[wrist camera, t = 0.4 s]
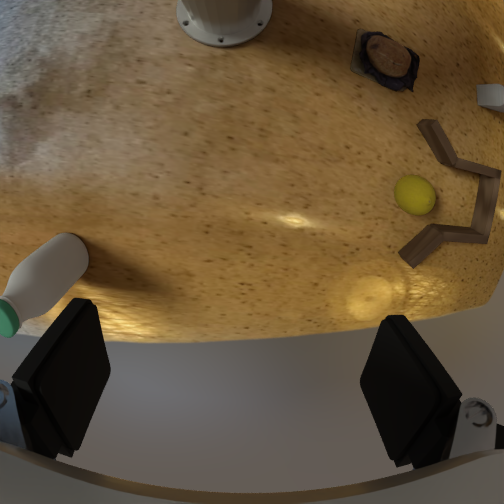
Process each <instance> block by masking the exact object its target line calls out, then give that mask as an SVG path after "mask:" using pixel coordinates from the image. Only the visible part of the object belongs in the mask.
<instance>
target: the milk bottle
mask: <svg viewBox="0 0 504 504" xmlns="http://www.w3.org/2000/svg"><path fill="white" fill-rule="evenodd" d="M88 262H89V255H88V251H87V249H86V246H85V245H84V243H83V242H82V241H81V240H80V239H79V238H78V237H77V236H75V235H73V234H71V233H60V234H58V235H57V236H55V237H53V238H52V239H51V240H49V241H48V242H46V243H45V244H44V245H42V246H41V247H40V248H38V249H37V250H36V251H34V252H33V253H32V254H31V255H29V256H28V257H27V258H25V259H24V260H23V261H22V262H21V263H20V264H19V265H18V266H17V267H16V268H15V269H14V271H13V272H12V274H11V276H10V278H9V281H8V284H7V287H6V289H5V292H4V293H3V295H2V296H0V334H1V335H2V336H4V337H7V338H10V337H12V336H14V335H15V334H16V332H17V331H18V329H19V328H21V326H22V322H24V321H26V320H28V319H30V318H34V317H38V316H41V315H43V314H45V313H46V312H48V311H49V310H50V309H51V308H53V306H54V305H55V304H56V303H57V302H58V301H59V300H60V299H61V298H62V297H63V296H64V295H65V293H66V292H67V291H68V290H69V289H70V288H71V287H72V286H73V285H74V284H75V282H76V281H77V280H78V279H79V278H80V277H81V276H82V275H83V274H84V272H85V271H86V269H87V267H88Z"/></svg>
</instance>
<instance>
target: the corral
mask: <svg viewBox="0 0 504 504" xmlns="http://www.w3.org/2000/svg"><path fill="white" fill-rule="evenodd" d="M416 125H417V126H418V128H419V130H420V131H421V133H422V134H423V136H424V138H425V139H426V141H427V143H428V144H429V146H430V148H431V150H432V151H433V153H434V155H435V157H436V159H437V160H438V162H441V164H445V165H448V166H452V167H455V168H460V169H464V170H468V171H472V172H475V173H479V174H480V181H479V187H478V193H477V199H476V204H475V210H474V215H473V219H472V224H471V228H469V227H460V226H450V225H440V224H431V225H430V226H429V225H427V226H426V227H425V228H424V229H423V230H422V231H421V232H420V233H419V234H418V235H416V236H415V237H414V238H413V239H412V240H411V241H410V242H409V243H408V244H407V245H405V246H404V247H403V248H402V249H401V250H400V251H399V252H398V253H399V255H400V256H401V258H402V259H403V260H404V261H405V262H406V263H407V264H409V265H410V266H411V267H412V268H413V269H414V268H415V267H416V266H417V265H418V264H419V263H420V262H422V261H423V260H424V259H425V258H426V257H427V256H428V255H429V254H430V253H431V252H432V251H433V250H434V249H436V248H437V247H438V246H439V245H440V244H441V243H442V242H443V241H450V242H465V243H480V244H487V242H488V238H489V234H490V230H491V226H492V221H493V217H494V212H495V207H496V202H497V196H498V190H499V184H500V178H501V171H500V170H497V169H494V168H491V167H488V166H484V165H481V164H478V163H474V162H471V161H467V160H464V159H460V158H458V157H457V155H456V153H455V151H454V149H453V147H452V146H451V144H450V142H449V140H448V138H447V136H446V134H445V133H444V131H443V129H442V127H441V126H440V124H439V122H438V120H429V119H422V120H421V121H420V122H419V123H418V124H416Z"/></svg>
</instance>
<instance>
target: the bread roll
mask: <svg viewBox="0 0 504 504" xmlns="http://www.w3.org/2000/svg"><path fill="white" fill-rule="evenodd" d="M418 67H419V56H418V55H417V54H416V53H415V52H413V51H412V50H411V49H409V48H407V47H405V46H402V45H401V44H399V43H398V42H396V41H394V40H392V39H391V38H389V37H388V36H387V35H384V34H383V33H382V32H368V31H365V30H363V29H359V30H357V36H356V41H355V46H354V52H353V56H352V62H351V67H350V69H351V71H352V72H354V73H356V74H358V75H361V76H363V77H366V78H368V79H370V80H372V81H375V82H377V83H379V84H381V85H382V86H385V87H387V88H390V89H392V90H395V91H404V90H405V89H406V88H409V89H410V90H411V91H412V92H413V85H414V81H415V79H416V78H417V71H418Z"/></svg>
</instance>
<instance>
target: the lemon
mask: <svg viewBox="0 0 504 504" xmlns="http://www.w3.org/2000/svg"><path fill="white" fill-rule="evenodd" d="M394 197H395V200H396V202H397V204H398V206H399V207H400V208H401V209H402V210H403V211H405V212H407V213H409V214H412V215H424V214H427V213H428V212H429V211H431V209H432V208H433V206H434V204H435V200H436V195H435V191H434V188H433V187H432V185H431V184H430V183H429V182H428V181H427V180H426V179H425V178H423V177H420V176H418V175H406V176H404V177H402V178H401V179H400V180H399V181H398V182H397V183H396V186H395V189H394Z"/></svg>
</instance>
